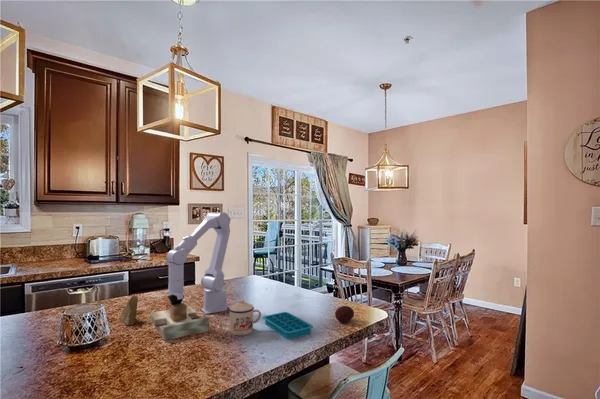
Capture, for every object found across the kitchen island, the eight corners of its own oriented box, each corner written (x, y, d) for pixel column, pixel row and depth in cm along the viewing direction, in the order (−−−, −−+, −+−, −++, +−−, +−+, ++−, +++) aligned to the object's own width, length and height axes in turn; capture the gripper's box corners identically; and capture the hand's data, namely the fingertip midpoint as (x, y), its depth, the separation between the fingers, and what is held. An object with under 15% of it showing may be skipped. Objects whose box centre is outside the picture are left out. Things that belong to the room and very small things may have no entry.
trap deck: (189, 311, 142) (189, 301, 142) (209, 330, 121) (209, 318, 121) (150, 319, 133) (150, 308, 133) (164, 340, 112) (164, 327, 112)
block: (183, 315, 130) (183, 302, 130) (186, 318, 126) (186, 306, 126) (170, 317, 127) (170, 305, 127) (173, 321, 123) (173, 308, 123)
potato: (357, 320, 131) (357, 305, 131) (345, 326, 124) (345, 311, 124) (342, 316, 136) (342, 302, 136) (329, 322, 129) (329, 307, 129)
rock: (140, 319, 126) (149, 308, 136) (125, 303, 124) (135, 293, 134) (118, 336, 125) (127, 324, 135) (102, 320, 124) (114, 309, 134)
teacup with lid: (231, 337, 114) (231, 304, 114) (227, 328, 122) (227, 298, 123) (264, 332, 119) (264, 300, 119) (257, 324, 127) (257, 294, 127)
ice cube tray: (287, 342, 111) (287, 333, 111) (261, 324, 128) (261, 316, 128) (314, 334, 117) (314, 326, 117) (286, 318, 134) (286, 311, 134)
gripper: (161, 277, 134) (161, 310, 134) (169, 284, 122) (169, 320, 122) (179, 275, 138) (179, 307, 138) (188, 281, 126) (188, 316, 126)
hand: (175, 313), depth 130 cm, fingers closed
